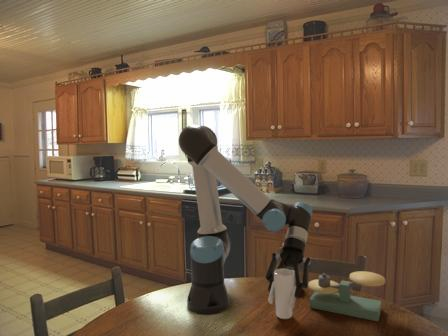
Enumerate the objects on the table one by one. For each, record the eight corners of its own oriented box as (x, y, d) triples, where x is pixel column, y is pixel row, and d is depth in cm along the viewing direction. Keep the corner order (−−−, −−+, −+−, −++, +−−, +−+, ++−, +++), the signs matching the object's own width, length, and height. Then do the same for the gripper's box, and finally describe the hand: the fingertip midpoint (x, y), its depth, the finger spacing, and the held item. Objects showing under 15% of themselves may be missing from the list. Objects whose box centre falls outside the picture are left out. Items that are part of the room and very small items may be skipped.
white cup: (281, 323, 113) (281, 277, 112) (269, 313, 119) (269, 270, 118) (298, 317, 116) (298, 273, 115) (285, 309, 122) (286, 267, 121)
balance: (304, 307, 123) (304, 273, 122) (312, 295, 133) (312, 263, 132) (383, 324, 111) (383, 286, 110) (385, 309, 121) (386, 274, 120)
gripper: (324, 250, 125) (312, 315, 112) (272, 243, 134) (256, 303, 121) (320, 239, 120) (308, 306, 107) (267, 233, 129) (249, 294, 116)
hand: (280, 304), depth 114 cm, fingers closed on white cup, 7 cm apart
